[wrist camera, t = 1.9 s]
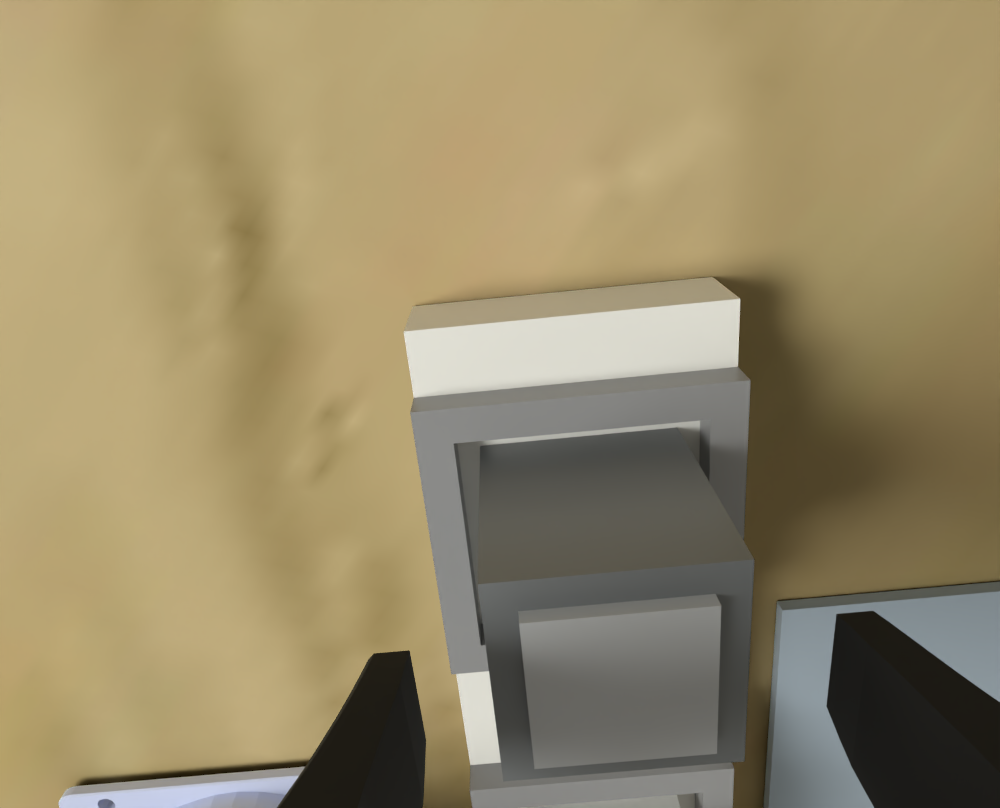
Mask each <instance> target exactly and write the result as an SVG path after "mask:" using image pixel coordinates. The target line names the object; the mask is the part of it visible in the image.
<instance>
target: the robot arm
mask: <svg viewBox="0 0 1000 808" xmlns="http://www.w3.org/2000/svg"><path fill="white" fill-rule="evenodd" d="M826 707H827V709H828V712H829V714H830V716H831V719H832V721H833V724H834V726H835V729H836V731H837V734H838V736H839V739H840V741H841V744H842V746H843V748H844V750H845V753H846V755H847V757H848V760H849V762H850V764H851V767H852V768H853V770H854V772H855V774H856V776H857V778H858V780H859V781H860V783H861V785H862V787H863V789H864V790H865V792H866V794H867V796H868V798H869V799H870V801H871V803H872V805H873V807H874V808H1000V702H999V701H997V700H996V699H994V698H993V697H992V696H990V695H989V694H987V693H986V692H984V691H983V690H982V689H980V688H979V687H977V686H976V685H975V684H973V683H972V682H970V681H969V680H968V679H966V678H965V677H963V676H962V675H961V674H959V673H958V672H956V671H955V670H954V669H952V668H951V667H950V666H948V665H947V664H945V663H944V662H943V661H941V660H940V659H939V658H937V657H936V656H935V655H933V654H932V653H931V652H929V651H928V650H926V649H925V648H924V647H922V646H921V645H920V644H918V643H917V642H916V641H914V640H913V639H912V638H910V637H909V636H908V635H906V634H905V633H904V632H902V631H901V630H899V629H898V628H897V627H895V626H894V625H893V624H891V623H890V622H889V621H887V620H886V619H884V618H883V617H881V616H880V615H879V614H877V613H876V612H874V611H864V612H852V613H841V614H836V622H835V631H834V641H833V650H832V659H831V668H830V678H829V687H828V696H827V705H826ZM425 749H426V738H425V732H424V727H423V721H422V716H421V710H420V705H419V700H418V694H417V689H416V683H415V678H414V673H413V667H412V662H411V656H410V651H399V652H387V653H376V654H373V655H372V656H371V657H370V659H369V660H368V662H367V663H366V665H365V667H364V669H363V671H362V673H361V675H360V677H359V679H358V680H357V682H356V684H355V686H354V688H353V690H352V691H351V693H350V695H349V697H348V698H347V700H346V702H345V704H344V705H343V707H342V709H341V710H340V712H339V714H338V716H337V717H336V719H335V721H334V722H333V724H332V726H331V727H330V729H329V730H328V732H327V733H326V735H325V737H324V738H323V740H322V741H321V743H320V745H319V746H318V748H317V749H316V751H315V753H314V754H313V756H312V757H311V759H310V760H309V762H308V763H307V765H306V766H305V767H294V768H282V769H271V770H259V771H247V772H235V773H224V774H212V775H200V776H188V777H177V778H165V779H153V780H141V781H130V782H118V783H106V784H94V785H83V786H74V787H70V788H68V789H67V790H66V791H65V792H64V794H63V796H62V797H61V799H60V801H59V808H422V807H423V796H424V776H425Z"/></svg>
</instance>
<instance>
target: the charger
mask: <svg viewBox="0 0 1000 808" xmlns="http://www.w3.org/2000/svg"><path fill="white" fill-rule="evenodd" d="M753 578H754V558H753V556H752V554H751V553H750V551H749V549H748V548H747V546H746V544H745V542H744V541H743V539H742V537H741V536H740V534H739V532H738V530H737V529H736V527H735V525H734V524H733V522H732V520H731V518H730V517H729V515H728V513H727V512H726V510H725V508H724V506H723V505H722V503H721V501H720V500H719V498H718V496H717V494H716V493H715V491H714V489H713V488H712V486H711V484H710V482H709V481H708V479H707V477H706V476H705V474H704V472H703V470H702V469H701V467H700V465H699V464H698V462H697V460H696V458H695V457H694V455H693V453H692V452H691V450H690V448H689V446H688V445H687V443H686V441H685V440H684V438H683V436H682V434H681V433H680V431H679V429H678V428H677V427H676V428H665V429H654V430H644V431H633V432H622V433H612V434H601V435H591V436H580V437H569V438H559V439H548V440H537V441H527V442H516V443H505V444H495V445H484V446H480V475H479V532H478V591H479V599H480V607H481V614H482V622H483V630H484V637H485V645H486V653H487V660H488V668H489V675H490V683H491V691H492V698H493V706H494V714H495V721H496V729H497V737H498V744H499V752H500V760H501V767H502V775H503V782H505V781H516V780H528V779H540V778H552V777H564V776H576V775H588V774H600V773H611V772H623V771H635V770H647V769H659V768H671V767H683V766H694V765H706V764H718V763H730V762H742V761H744V760H745V740H746V720H747V699H748V679H749V659H750V639H751V619H752V598H753Z"/></svg>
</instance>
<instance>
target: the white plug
mask: <svg viewBox="0 0 1000 808" xmlns="http://www.w3.org/2000/svg"><path fill="white" fill-rule="evenodd" d="M526 808H680V805H679V801H678V798H677V795H668V796H656V797H644V798H632V799H620V800H608V801H596V802H584V803H572V804H560V805H548V806H536V807H526Z"/></svg>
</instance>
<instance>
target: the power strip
mask: <svg viewBox="0 0 1000 808" xmlns="http://www.w3.org/2000/svg"><path fill="white" fill-rule="evenodd" d="M739 322H740V298H739V297H737V296H736V295H735V294H734V293H732V292H731V291H730V290H729V289H727V288H726V287H725V286H723V285H722V284H721V283H720V282H718V281H717V280H716V279H714V278H713V277H706V278H696V279H686V280H675V281H665V282H655V283H645V284H635V285H624V286H614V287H604V288H594V289H584V290H573V291H563V292H553V293H543V294H533V295H523V296H512V297H502V298H492V299H482V300H472V301H461V302H451V303H441V304H431V305H421V306H413V307H412V310H411V313H410V315H409V318H408V321H407V324H406V327H405V329H404V337H405V343H406V350H407V356H408V363H409V369H410V376H411V382H412V389H413V395H414V399H413V404H412V408H411V412H410V414H411V420H412V426H413V433H414V439H415V445H416V452H417V458H418V464H419V471H420V477H421V484H422V490H423V496H424V503H425V509H426V515H427V522H428V528H429V534H430V541H431V547H432V553H433V560H434V566H435V573H436V579H437V585H438V592H439V598H440V604H441V611H442V617H443V623H444V630H445V636H446V643H447V649H448V655H449V662H450V668H451V674H456V675H457V681H458V688H459V694H460V701H461V707H462V714H463V720H464V727H465V733H466V740H467V746H468V753H469V759H470V795H471V802H472V808H526V807H536V806H548V805H560V804H572V803H584V802H596V801H608V800H620V799H632V798H644V797H656V796H668V795H677V798H678V801H679V805H680V808H733V785H734V767H733V764H732V762H730V763H718V764H706V765H694V766H683V767H671V768H659V769H647V770H635V771H623V772H611V773H600V774H588V775H576V776H564V777H552V778H540V779H528V780H516V781H505V782H503V775H502V767H501V760H500V752H499V744H498V737H497V729H496V721H495V714H494V706H493V698H492V691H491V683H490V675H489V668H488V660H487V653H486V645H485V637H484V630H483V622H482V614H481V607H480V599H479V591H478V532H479V475H480V446H484V445H495V444H505V443H516V442H527V441H537V440H548V439H559V438H569V437H580V436H591V435H601V434H612V433H622V432H633V431H644V430H654V429H665V428H676V427H677V428H678V429H679V431H680V433H681V434H682V436H683V438H684V440H685V441H686V443H687V445H688V446H689V448H690V450H691V452H692V453H693V455H694V457H695V458H696V460H697V462H698V464H699V465H700V467H701V469H702V470H703V472H704V474H705V476H706V477H707V479H708V481H709V482H710V484H711V486H712V488H713V489H714V491H715V493H716V494H717V496H718V498H719V500H720V501H721V503H722V505H723V506H724V508H725V510H726V512H727V513H728V515H729V517H730V518H731V520H732V522H733V524H734V525H735V527H736V529H737V530H738V532H739V534H740V536H741V537H742V539H743V541H744V524H745V500H746V476H747V452H748V429H749V405H750V381H751V380H750V379H749V378H748V377H747V376H746V375H745V374H744V373H743V372H742V371H741V370H740V368H739V367H738V351H739Z"/></svg>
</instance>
